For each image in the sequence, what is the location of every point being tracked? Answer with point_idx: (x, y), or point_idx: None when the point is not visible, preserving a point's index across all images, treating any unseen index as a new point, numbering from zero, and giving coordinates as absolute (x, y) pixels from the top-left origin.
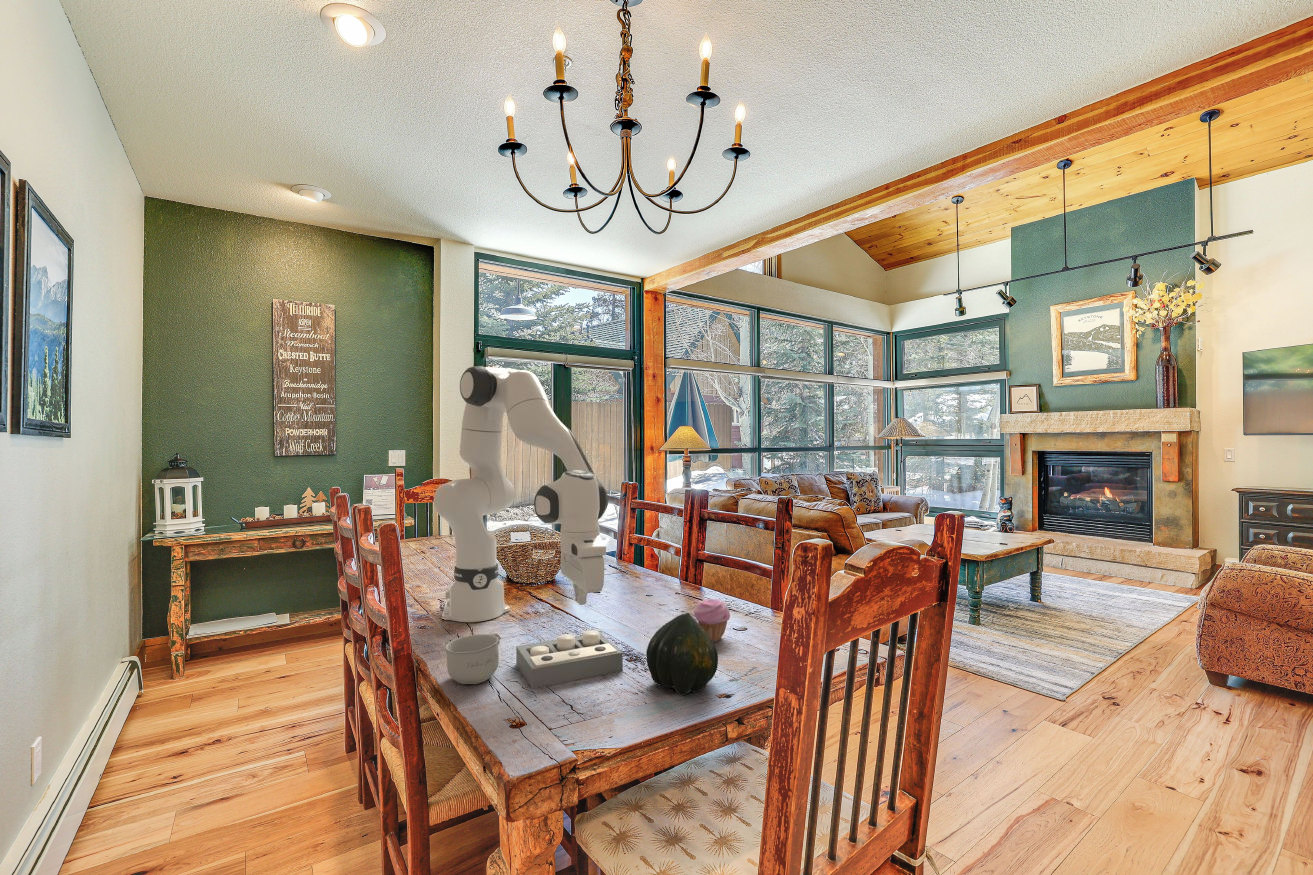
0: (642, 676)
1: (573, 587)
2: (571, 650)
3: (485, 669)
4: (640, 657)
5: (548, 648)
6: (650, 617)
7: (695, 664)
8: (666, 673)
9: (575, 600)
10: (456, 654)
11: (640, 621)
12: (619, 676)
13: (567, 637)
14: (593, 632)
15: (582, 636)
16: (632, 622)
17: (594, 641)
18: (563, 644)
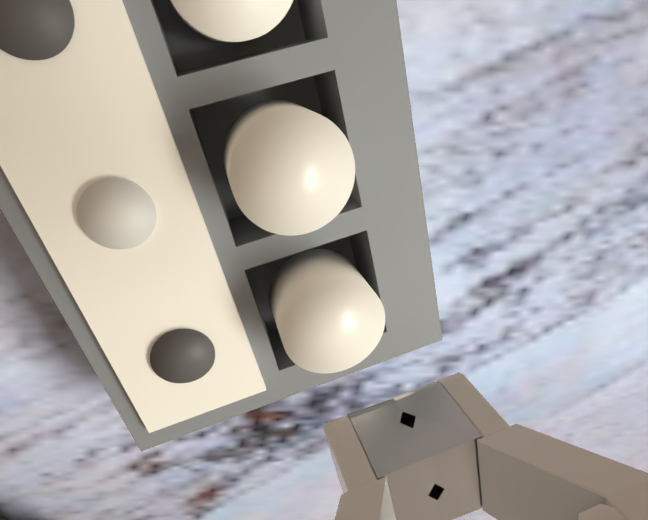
0: (77, 460)
1: (605, 471)
2: (180, 197)
3: None
4: (279, 444)
5: (237, 38)
6: (628, 456)
7: None
8: None
9: (446, 382)
10: None
11: (611, 430)
12: (81, 380)
13: (293, 186)
14: (345, 340)
15: (328, 274)
16: (615, 406)
17: (278, 330)
18: (230, 151)
